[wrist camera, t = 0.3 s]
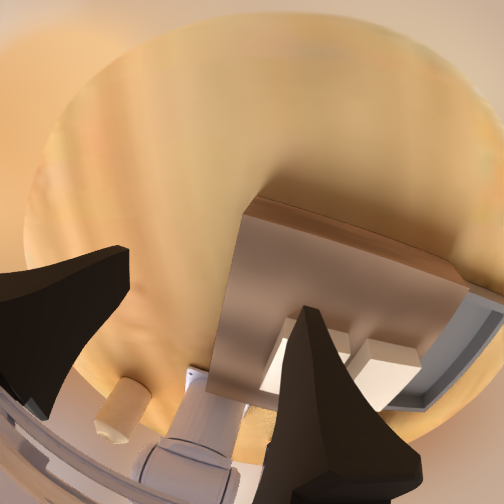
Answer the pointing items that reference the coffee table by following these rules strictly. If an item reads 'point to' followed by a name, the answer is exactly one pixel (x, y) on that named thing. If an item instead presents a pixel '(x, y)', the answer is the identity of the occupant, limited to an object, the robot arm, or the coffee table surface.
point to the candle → (122, 411)
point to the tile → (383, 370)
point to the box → (453, 350)
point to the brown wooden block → (322, 292)
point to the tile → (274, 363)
